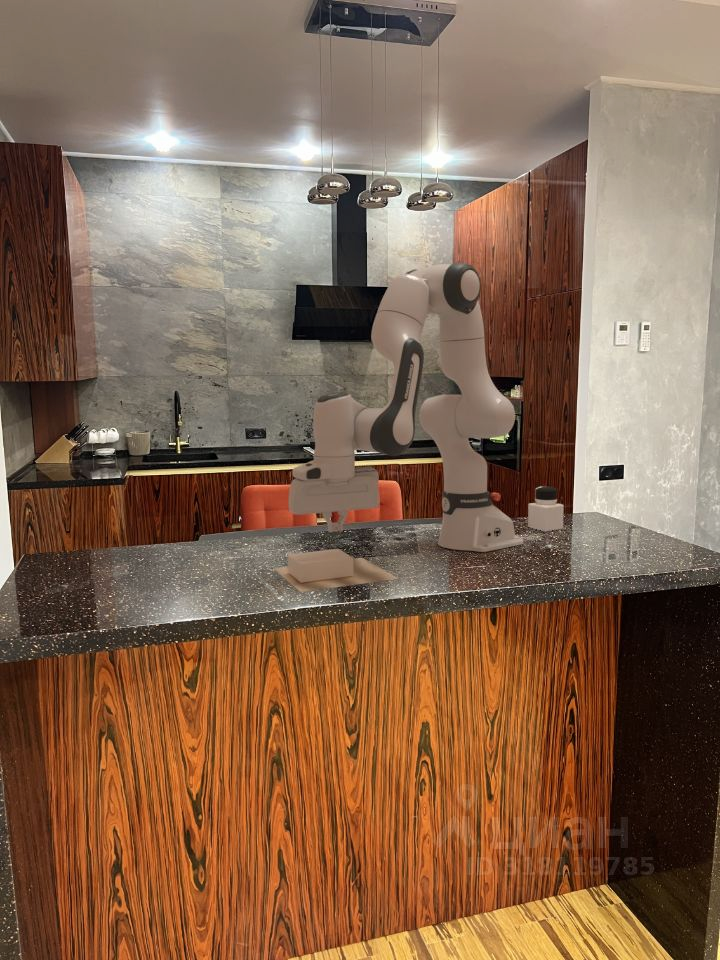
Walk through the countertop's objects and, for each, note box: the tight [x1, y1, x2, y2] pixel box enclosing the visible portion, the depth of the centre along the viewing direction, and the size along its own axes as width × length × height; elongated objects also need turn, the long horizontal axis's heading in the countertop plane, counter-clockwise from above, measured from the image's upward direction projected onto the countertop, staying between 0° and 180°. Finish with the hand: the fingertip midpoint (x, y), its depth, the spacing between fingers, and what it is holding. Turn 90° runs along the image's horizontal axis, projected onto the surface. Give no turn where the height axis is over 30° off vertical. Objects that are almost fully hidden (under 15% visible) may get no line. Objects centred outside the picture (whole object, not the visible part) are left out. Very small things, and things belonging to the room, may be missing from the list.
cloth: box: [273, 557, 399, 593], centre depth 155 cm, size 22×20×1 cm
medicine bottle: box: [527, 486, 565, 533], centre depth 201 cm, size 7×7×12 cm
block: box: [287, 548, 354, 583], centre depth 154 cm, size 4×9×12 cm
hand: (335, 531), depth 154 cm, fingers closed
